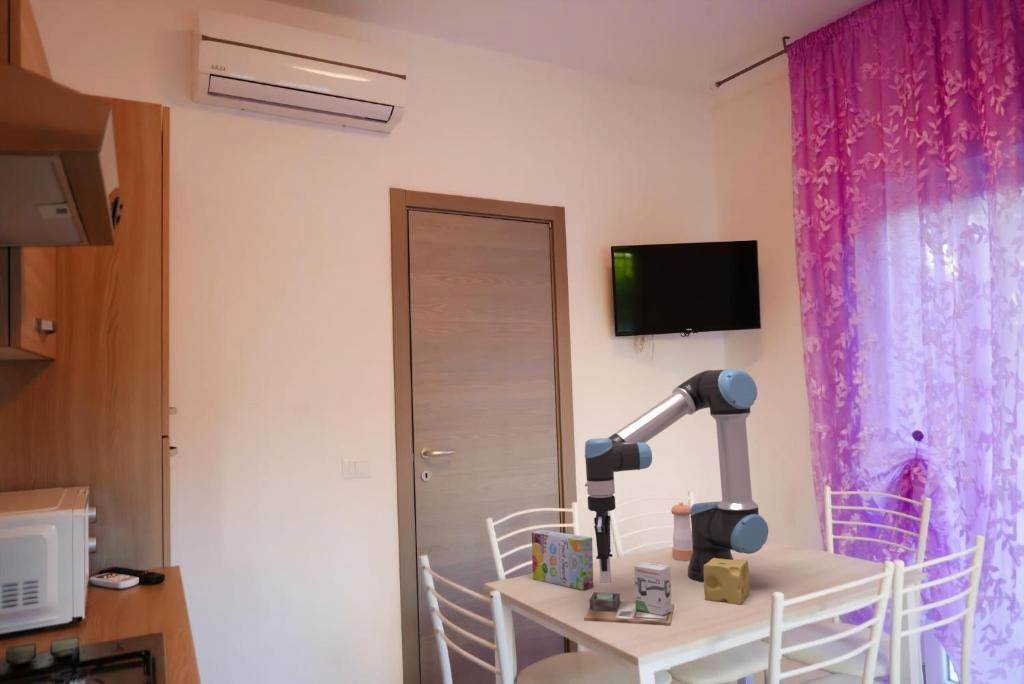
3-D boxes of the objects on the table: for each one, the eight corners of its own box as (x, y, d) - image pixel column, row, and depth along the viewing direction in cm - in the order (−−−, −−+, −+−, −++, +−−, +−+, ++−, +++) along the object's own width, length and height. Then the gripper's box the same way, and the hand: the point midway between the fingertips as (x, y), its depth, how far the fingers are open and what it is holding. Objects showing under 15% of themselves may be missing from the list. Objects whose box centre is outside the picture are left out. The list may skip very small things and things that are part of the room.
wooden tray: (673, 606, 197) (673, 593, 197) (670, 625, 182) (669, 611, 182) (594, 602, 203) (593, 589, 203) (584, 620, 188) (583, 606, 188)
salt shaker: (672, 555, 255) (669, 501, 256) (693, 555, 254) (690, 501, 255) (673, 560, 248) (671, 504, 249) (695, 560, 247) (692, 504, 248)
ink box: (634, 610, 192) (632, 565, 192) (643, 605, 195) (642, 561, 196) (663, 615, 186) (661, 569, 187) (672, 611, 190) (670, 565, 191)
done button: (614, 604, 198) (613, 593, 198) (612, 609, 193) (611, 597, 194) (598, 603, 199) (597, 592, 199) (595, 608, 195) (595, 597, 195)
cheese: (741, 605, 196) (739, 568, 197) (702, 600, 202) (700, 564, 203) (750, 595, 205) (749, 560, 206) (713, 590, 211) (711, 556, 212)
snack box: (595, 587, 218) (593, 536, 219) (583, 591, 214) (581, 539, 215) (543, 575, 233) (541, 528, 234) (531, 579, 229) (530, 531, 230)
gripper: (591, 491, 205) (596, 575, 204) (583, 499, 193) (588, 588, 192) (617, 491, 203) (622, 576, 202) (611, 499, 191) (616, 589, 189)
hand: (605, 582), depth 197 cm, fingers closed
